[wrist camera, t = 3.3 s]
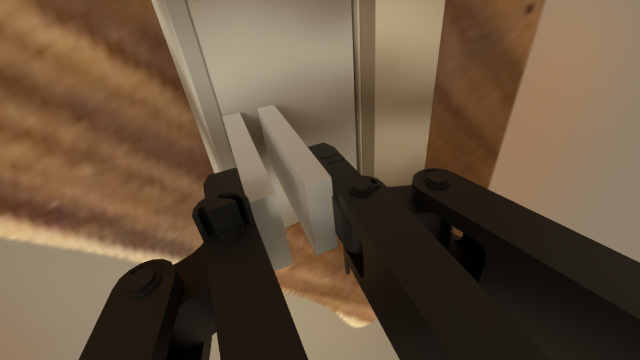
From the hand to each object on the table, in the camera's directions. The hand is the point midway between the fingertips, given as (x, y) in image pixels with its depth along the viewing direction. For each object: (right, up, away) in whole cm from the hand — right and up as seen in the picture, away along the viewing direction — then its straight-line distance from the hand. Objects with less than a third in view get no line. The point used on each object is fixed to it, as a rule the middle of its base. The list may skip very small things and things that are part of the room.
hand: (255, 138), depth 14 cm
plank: (0, +2, +2) cm, 3 cm away
